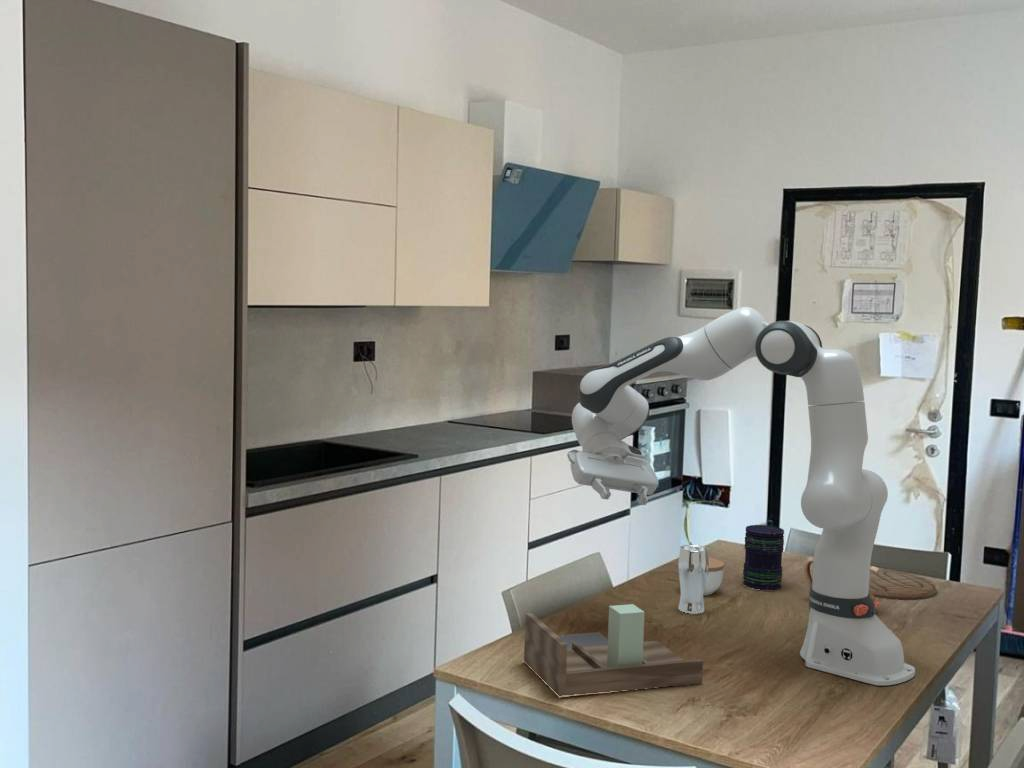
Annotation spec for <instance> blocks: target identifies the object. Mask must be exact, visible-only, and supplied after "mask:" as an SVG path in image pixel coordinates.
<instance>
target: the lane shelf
mask: <svg viewBox="0 0 1024 768" xmlns="http://www.w3.org/2000/svg"><path fill="white" fill-rule="evenodd" d="M524 622H525V623H524V624H525V625H524V651H523V654H524V655H523V662H524V661H525V662H526V663H527V664H528V665H529V666H530V667H531V668H532V669H533V670H534V671H535V672H536V673H537V674H538V675H539V676H540V677H541V678H542V679H543V680H544V681H545V682H546V683H547V684H548V685H549V686H550V687H551V688H552V689H553V690H554V691H555V692H556V693H557V694H558V695H559V696H562V695H574V694H586V693H598V692H610V691H622V690H635V689H645V688H655V687H666V688H668V687H667V686H675V687H679V686H678V685H685V686H691V685H690V684H694V685H700V684H701V683H702V684H703V670H704V660H703V659H702V658H691V659H689V658H688V659H683V658H681V657H680V656H679V655H678V654H676V653H674V652H673V651H672V650H670V649H669V648H668V647H666V646H665V645H663V644H661V643H660V642H659V641H658V640H650V641H649V640H648V641H643V661H642V664H637V665H626V666H616V667H607V649H608V645H603V646H592V647H581V646H580V645H579V644H577V643H576V642H572V648H569V649H567V644H566V643H565V642H564V641H563V640H562V639H561V638H560V637H558V636H557V635H558V634H556V633H555V632H554V631H553V630H552V629H550V627H548V626H547V625H546V624H545V623H544V622H542V620H541V619H539V618H538V616H536V615H535V614H534V613H532V612H525V621H524ZM702 684H701V685H702Z"/></svg>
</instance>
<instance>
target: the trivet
mask: <svg viewBox="0 0 1024 768" xmlns="http://www.w3.org/2000/svg"><path fill="white" fill-rule="evenodd" d="M877 568H878V569H879V571H878V572H877V573H876V574H875V573H874V572H870V577H869V589H870V590H871V592H872V593H873V595H874V597H875V598H877V597H879V598H878V599H884V598H886V600H895V599H898V601H901V600H902V601H919V600H926V599H930V598H933V597H934V596H935V595H936V593H937V585H936V583H934V582H933V581H932V580H930V579H929V578H925V577H923V576H920V575H917V574H913V573H910V572H906V571H900V570H894V569H886V568H879V567H877ZM932 596H933V597H932ZM929 597H930V598H929ZM925 598H926V599H925ZM918 599H919V600H918Z"/></svg>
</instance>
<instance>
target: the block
mask: <svg viewBox="0 0 1024 768" xmlns="http://www.w3.org/2000/svg"><path fill="white" fill-rule="evenodd" d="M607 625H608V628H607V639H608V649H607V667H616V666H626V665H637V664H642V661H643V642H644V634H645V611H644V610H642V609H641V608H640V607H638V606H636V605H635V604H633V603H630V604H619V605H617V604H616V605H609V606H608V624H607Z"/></svg>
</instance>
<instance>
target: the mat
mask: <svg viewBox="0 0 1024 768" xmlns="http://www.w3.org/2000/svg"><path fill="white" fill-rule="evenodd" d="M556 635H557V636H558V634H556ZM559 635H560V636H558V637H560V638H561V639H562V640H563V641H564V642H565V643H566V644H567V649H569V648H572V642H576V643H577V644H579V645H580V646H581V647H592V646H603V645H608V637H606V636H605V635H603V634H602V633H601V632H599V631H593V632H582V633H572V634H571V633H569V634H559ZM561 635H562V636H563V637H562V636H561Z"/></svg>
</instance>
